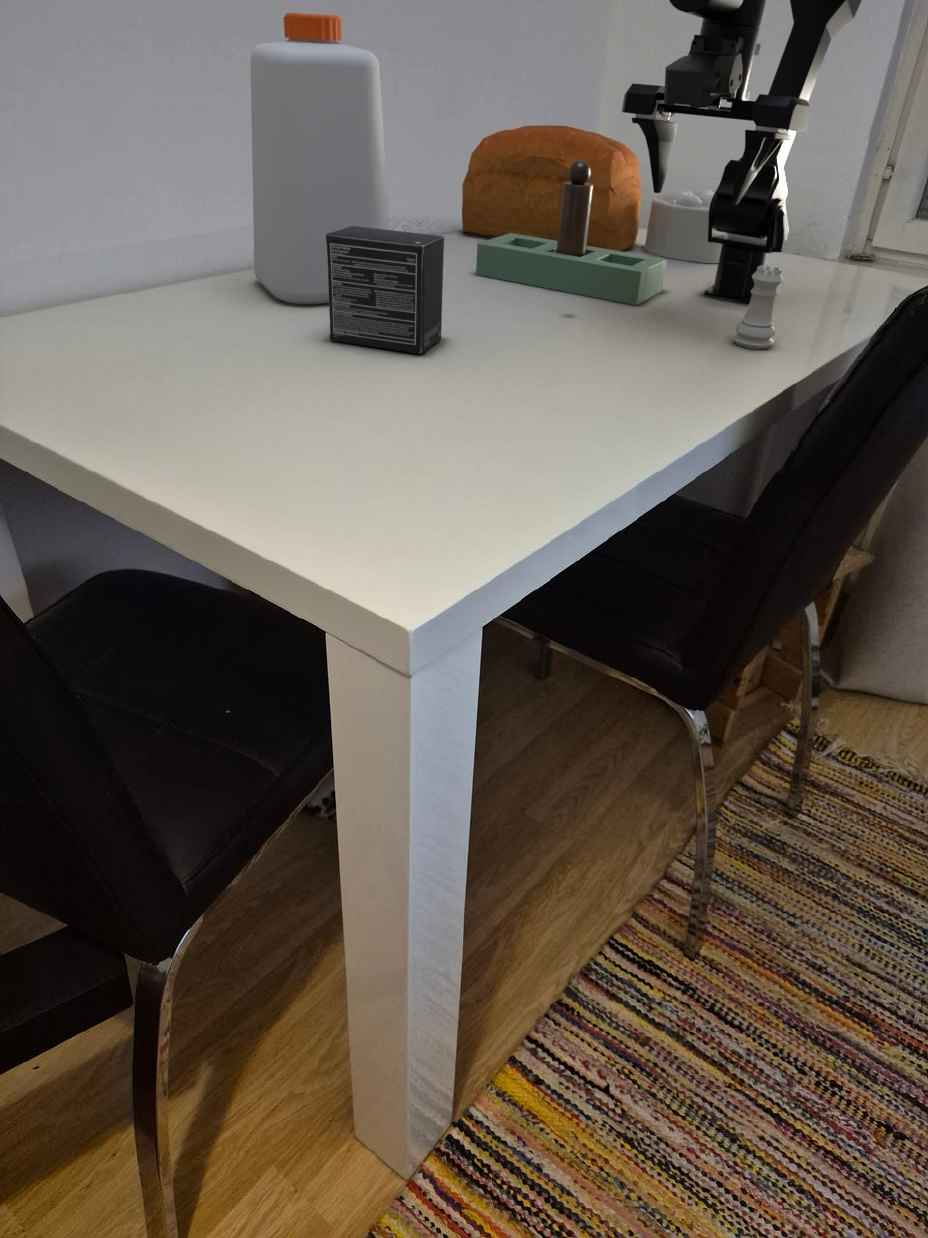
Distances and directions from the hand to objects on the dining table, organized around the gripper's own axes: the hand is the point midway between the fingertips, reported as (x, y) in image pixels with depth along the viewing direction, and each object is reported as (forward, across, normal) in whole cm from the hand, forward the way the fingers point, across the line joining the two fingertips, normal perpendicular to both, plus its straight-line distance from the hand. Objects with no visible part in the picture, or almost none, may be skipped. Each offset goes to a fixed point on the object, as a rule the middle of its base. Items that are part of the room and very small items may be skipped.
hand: (694, 198), depth 95 cm
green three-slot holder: (+13, -19, +8) cm, 24 cm away
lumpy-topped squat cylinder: (+10, -16, +38) cm, 43 cm away
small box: (+16, -18, -28) cm, 38 cm away
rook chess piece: (+14, +10, 0) cm, 17 cm away
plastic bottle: (+15, -38, -19) cm, 45 cm away
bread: (+11, -37, +30) cm, 48 cm away
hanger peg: (+13, -19, +8) cm, 24 cm away
